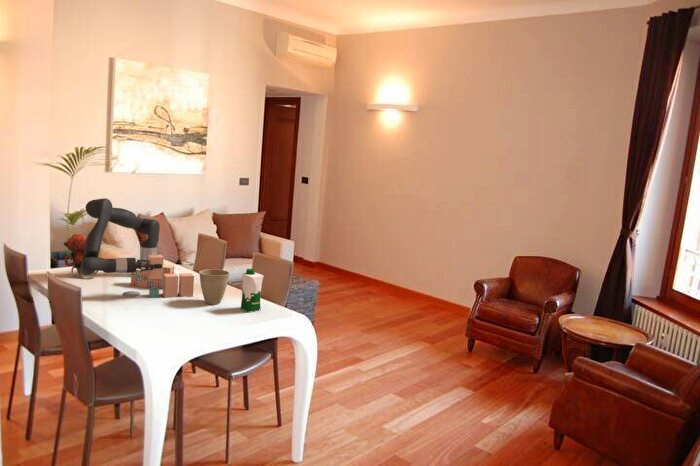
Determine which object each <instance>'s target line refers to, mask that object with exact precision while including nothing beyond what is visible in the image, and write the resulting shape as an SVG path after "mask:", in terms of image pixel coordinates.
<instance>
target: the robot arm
mask: <svg viewBox="0 0 700 466" xmlns="http://www.w3.org/2000/svg"><path fill="white" fill-rule="evenodd" d="M85 211H86V213H87V215H88V216H90V217H91V218H93V219H97V221H96V222H95V224H94V226H93V227H92V229H91V230H90V231H89V232H88V234H87V236H86V237H87V238H86V242H85V247H84V255H83V259H82V262H81V266H80V270H81V272H82V273H83V274H84V275H83V276H85V275H90V276H92V275H93V274H94V273H95V272H96V271H98V272H103V273H105V274H113V273H114V274H115V273H116V274H131V273H135V272H136V269H140V270H141V271H146V270H153V269H161V268H162V264H150V263H148V255H158V244H159V240H160V227H161V226H160V225H161V224H160V222H159V220H157V219H153V218H152V219H151V218H142V217H139V216H137V215H136V214H135V213H134V212H132V211H131V210H128V209H126V208H121V207H113V204H112V201H111V200H110V199H109V198H103V197H102V198H97V199H92V200H90V201H87V203H86V205H85ZM108 223H111V224H115V225H117V226H120V227H123V228H126V229H131V230H133V231H135V232H137V233H140V234H141V235H146V236H147V238H146V239H144V240H141V241H140V243H139V259H136V257H119V258H104V257H103V258H102V257H99V254H100V251H101V246H102V242H103V238H104V234H105V232H106V228H107V227H108ZM150 266H151V268H150Z"/></svg>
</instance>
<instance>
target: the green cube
mask: <svg viewBox="0 0 700 466" xmlns="http://www.w3.org/2000/svg"><path fill="white" fill-rule="evenodd" d="M148 288H149V290H148V297H149V298H151V299H153V298H159V297H160V296H159V295H160V290H159V288H150V287H148Z"/></svg>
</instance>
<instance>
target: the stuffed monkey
mask: <svg viewBox="0 0 700 466" xmlns="http://www.w3.org/2000/svg"><path fill="white" fill-rule="evenodd" d="M86 238H87V236H85V235H83V234H81V233H80V234H79V233H75V234H72V235H71V236H70V237H69V238H68V239H67V241H64V242H63V245H64V246H65V247H67V249H68V250H69V251H71V252H73V256H72V255H71V254H70V255H69V254H68V255H66V256H65V257H64V264H65V266H68V267H71V274H72V277H73V276H74V269H76V271H77V274H78V276H85V277H87V278H88V279H89V280H93V279H94V278H95V277H96V275H97V273H99V271H95V272H94V273H93V274H92V275H93V276H92V275H84V274H83V273H82V272H81V270H80V266H81V262H82V259H83V255H84V247H85V242H86ZM68 258H70V260H71V261H72V262H69V260H68ZM74 277H75V276H74Z"/></svg>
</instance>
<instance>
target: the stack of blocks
mask: <svg viewBox="0 0 700 466" xmlns="http://www.w3.org/2000/svg"><path fill="white" fill-rule="evenodd" d="M164 274H175V265H171V264H164V263H163V276H164ZM130 286H132V287H133V286H134V287H141V288H143V287H144V288H158V289H160V290H163V279H149V277H148V270H146V271H141V270H140V269H136V272H135V273H130Z"/></svg>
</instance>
